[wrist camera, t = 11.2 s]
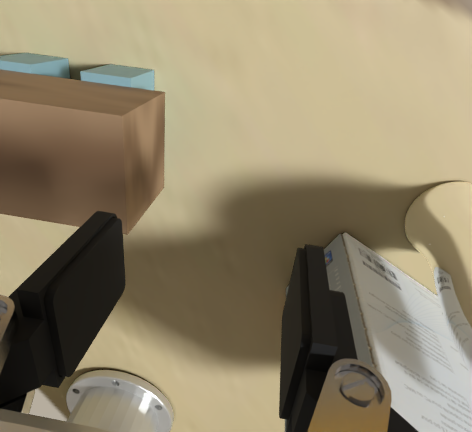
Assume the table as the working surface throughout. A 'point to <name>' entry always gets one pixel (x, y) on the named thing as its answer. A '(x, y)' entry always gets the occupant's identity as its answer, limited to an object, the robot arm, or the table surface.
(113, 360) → the table surface
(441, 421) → the hard drive box
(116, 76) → the block
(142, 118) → the slab
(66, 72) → the block
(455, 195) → the beer glass
